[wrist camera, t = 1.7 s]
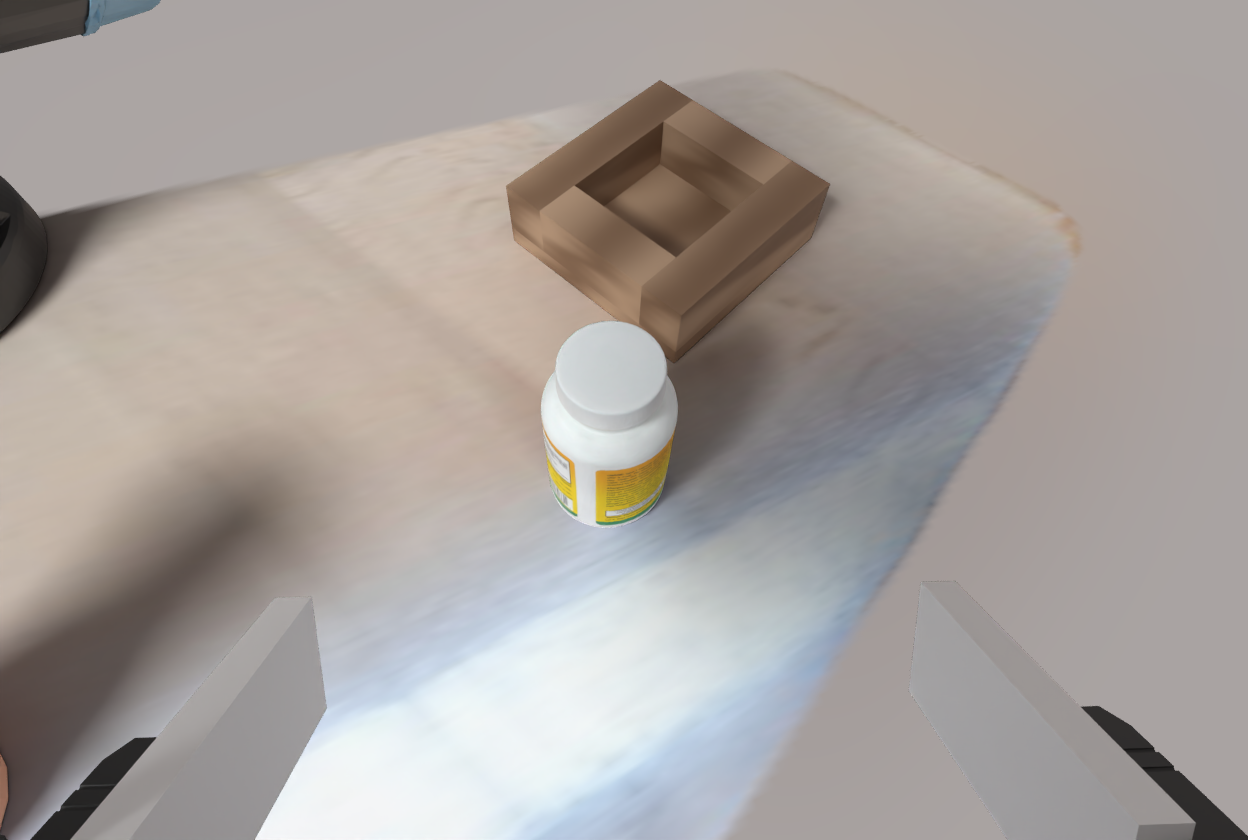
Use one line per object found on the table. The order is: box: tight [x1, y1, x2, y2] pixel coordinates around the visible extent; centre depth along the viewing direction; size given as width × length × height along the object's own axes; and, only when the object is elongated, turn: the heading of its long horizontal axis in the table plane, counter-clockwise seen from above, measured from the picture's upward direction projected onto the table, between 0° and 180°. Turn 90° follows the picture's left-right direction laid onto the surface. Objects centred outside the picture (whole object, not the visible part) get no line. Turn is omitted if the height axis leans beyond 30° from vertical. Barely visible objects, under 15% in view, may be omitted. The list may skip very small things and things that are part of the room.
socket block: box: [506, 81, 830, 363], centre depth 40 cm, size 12×12×4 cm
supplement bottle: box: [541, 321, 678, 528], centre depth 30 cm, size 5×5×10 cm
